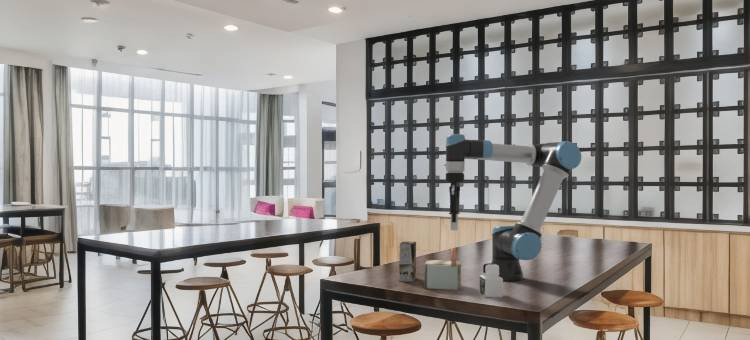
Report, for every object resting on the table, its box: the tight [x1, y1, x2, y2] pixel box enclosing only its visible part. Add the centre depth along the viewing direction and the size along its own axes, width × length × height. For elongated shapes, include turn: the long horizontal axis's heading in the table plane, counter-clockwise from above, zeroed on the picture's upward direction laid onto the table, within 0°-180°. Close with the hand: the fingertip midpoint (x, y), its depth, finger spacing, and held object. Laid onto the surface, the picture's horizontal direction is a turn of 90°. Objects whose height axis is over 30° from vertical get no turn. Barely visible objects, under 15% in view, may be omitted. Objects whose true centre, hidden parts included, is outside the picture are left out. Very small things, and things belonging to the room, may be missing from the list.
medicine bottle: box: [479, 262, 504, 298], centre depth 216 cm, size 7×7×12 cm
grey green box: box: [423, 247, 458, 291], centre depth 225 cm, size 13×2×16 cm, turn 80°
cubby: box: [424, 259, 462, 291], centre depth 231 cm, size 14×9×10 cm, turn 80°
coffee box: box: [398, 241, 417, 283], centre depth 246 cm, size 9×6×16 cm
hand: (454, 230), depth 230 cm, fingers closed
